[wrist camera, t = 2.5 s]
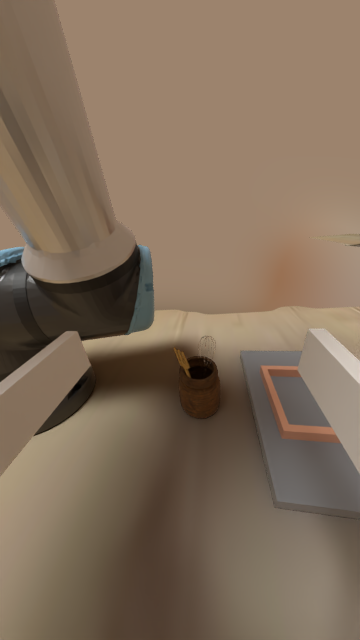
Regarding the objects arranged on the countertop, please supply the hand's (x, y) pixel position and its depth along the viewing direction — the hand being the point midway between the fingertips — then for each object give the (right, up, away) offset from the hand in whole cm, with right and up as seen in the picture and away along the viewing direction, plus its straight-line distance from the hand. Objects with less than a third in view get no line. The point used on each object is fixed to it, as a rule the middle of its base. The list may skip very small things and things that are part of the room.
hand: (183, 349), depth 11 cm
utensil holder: (+3, -11, +18) cm, 21 cm away
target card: (+18, -11, +15) cm, 25 cm away
